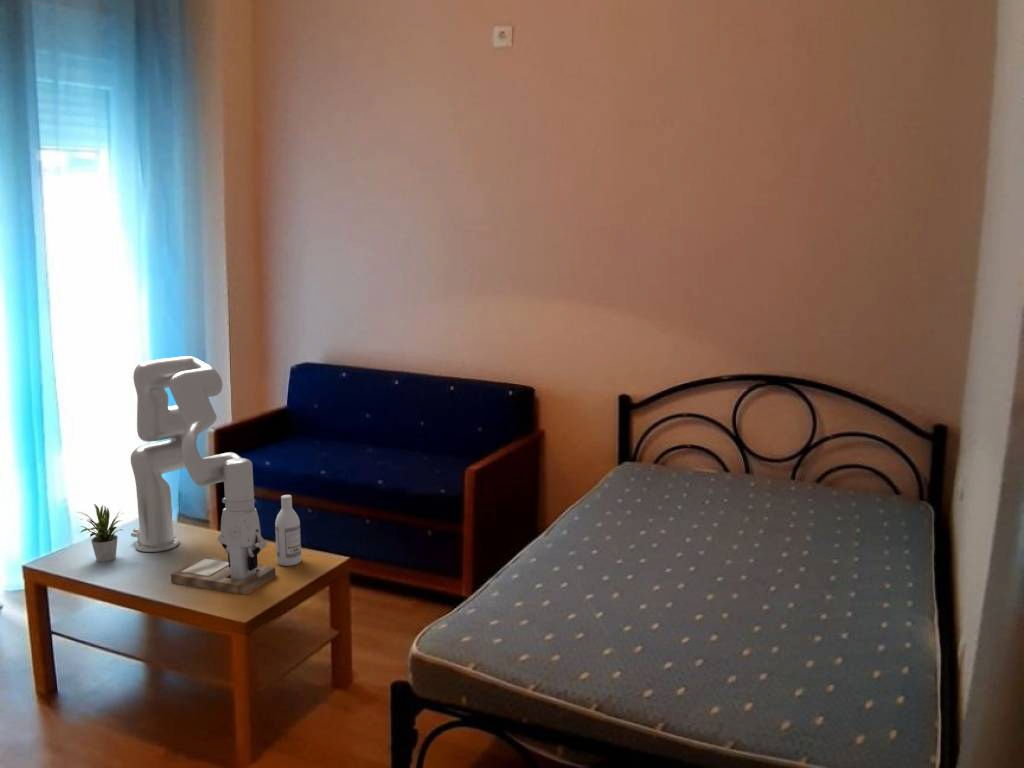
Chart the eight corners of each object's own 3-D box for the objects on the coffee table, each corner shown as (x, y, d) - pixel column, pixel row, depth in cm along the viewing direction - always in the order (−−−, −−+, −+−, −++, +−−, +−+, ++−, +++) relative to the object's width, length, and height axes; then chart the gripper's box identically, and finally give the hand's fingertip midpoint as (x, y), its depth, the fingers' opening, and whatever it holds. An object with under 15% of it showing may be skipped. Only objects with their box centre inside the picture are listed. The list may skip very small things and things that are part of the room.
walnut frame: (171, 582, 254) (170, 573, 253) (203, 564, 267) (203, 555, 266) (245, 595, 246) (245, 585, 246) (275, 575, 259) (275, 566, 259)
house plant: (68, 557, 271) (63, 504, 268) (116, 545, 281) (111, 494, 278) (87, 571, 262) (83, 515, 259) (136, 558, 271) (132, 504, 268)
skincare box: (244, 577, 258) (242, 536, 256) (257, 579, 256) (255, 538, 254) (230, 585, 252) (228, 543, 250) (243, 587, 251) (240, 545, 249)
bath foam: (306, 559, 271) (303, 493, 267) (293, 568, 265) (290, 500, 261) (285, 556, 273) (282, 491, 270) (272, 564, 267) (269, 498, 263)
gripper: (204, 504, 249) (208, 568, 253) (258, 511, 244) (262, 576, 247) (221, 496, 256) (225, 558, 260) (275, 503, 251) (277, 566, 254)
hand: (243, 566), depth 254 cm, fingers open, 5 cm apart
